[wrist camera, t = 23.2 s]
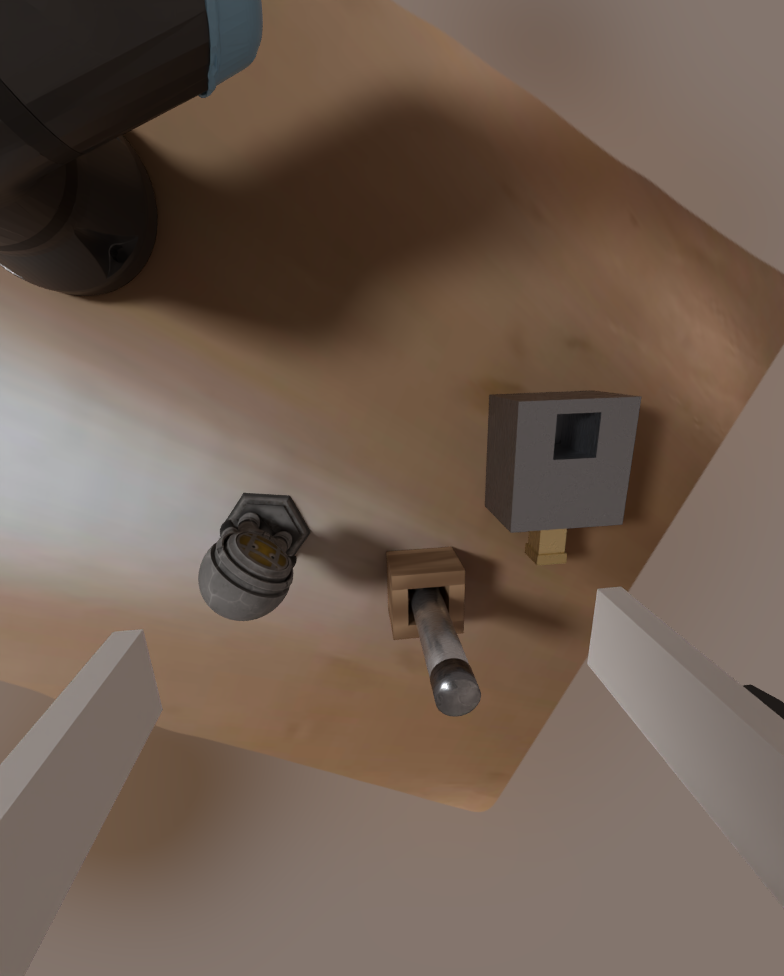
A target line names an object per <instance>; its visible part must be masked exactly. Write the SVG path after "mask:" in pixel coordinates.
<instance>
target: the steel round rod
mask: <svg viewBox="0 0 784 976" xmlns="http://www.w3.org/2000/svg"><path fill="white" fill-rule="evenodd" d="M408 594H409V598H410V602H411V606H412V610H413V614H414V618H415V622H416V626H417V630H418V633H419V637H420V641H421V645H422V649H423V653H424V657H425V661H426V665H427V669H428V672H429V676H430V683H431V687H432V690H433V694H434V698H435V702H436V706H437V708H438V709H439V710H440V711H441V712H442V713H443V714H445V715H448V716H462V715H465V714H467V713H469V712H471V711H472V710H473V709H474V708H475V707H476V706H477V705H478V703H479V701H480V698H481V692H480V689H479V687H478V684H477V682H476V679H475V677H474V674H473V672H472V669H471V667H470V665H469V663H468V661H467V658H466V656H465V653H464V650H463V648H462V645H461V643H460V640H459V638H458V635H457V633H456V630H455V628H454V625H453V623H452V620H451V618H450V615H449V613H448V610H447V608H446V605H445V603H444V600H443V597H442V595H441V592H440V590H439V587H428V588H416V589H408Z"/></svg>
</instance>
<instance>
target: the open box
mask: <svg viewBox="0 0 784 976" xmlns="http://www.w3.org/2000/svg"><path fill="white" fill-rule="evenodd" d="M386 560H387V588H388V611H389V616H390V622H391V627H392V633H393V639H394V640H399V639H409V638H419V633H418V630H417V626H416V622H415V618H414V614H413V610H412V606H411V602H410V598H409V594H408V589H416V588H428V587H439V590H440V592H441V595H442V597H443V600H444V603H445V605H446V608H447V610H448V613H449V615H450V618H451V620H452V623H453V625H454V628H455V630H456V633H457V634H461V633H463V631H464V595H465V569H464V568H463V566H462V564H461V562H460V561H459V559H458V557H457V555H456V554H455V552H454V550H453V549H452V547H441V548H427V549H414V550H401V551H388V552H386Z"/></svg>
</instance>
